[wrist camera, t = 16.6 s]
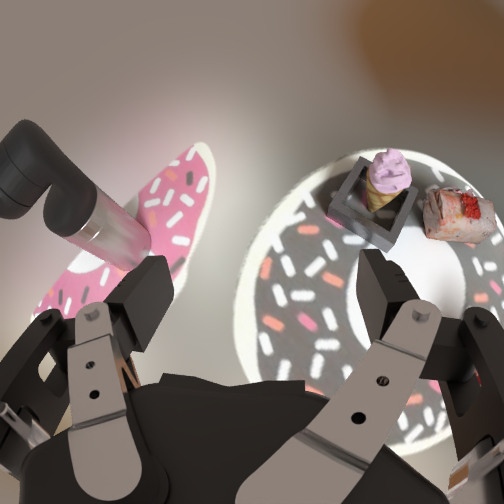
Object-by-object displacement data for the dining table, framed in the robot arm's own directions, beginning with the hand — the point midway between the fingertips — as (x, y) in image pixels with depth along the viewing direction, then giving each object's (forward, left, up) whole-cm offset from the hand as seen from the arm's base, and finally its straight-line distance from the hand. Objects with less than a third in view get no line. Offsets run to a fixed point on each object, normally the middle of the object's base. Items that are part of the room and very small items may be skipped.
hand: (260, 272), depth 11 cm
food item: (+17, +31, -33) cm, 48 cm away
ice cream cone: (+2, +25, -33) cm, 41 cm away
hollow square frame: (+2, +25, -33) cm, 41 cm away
